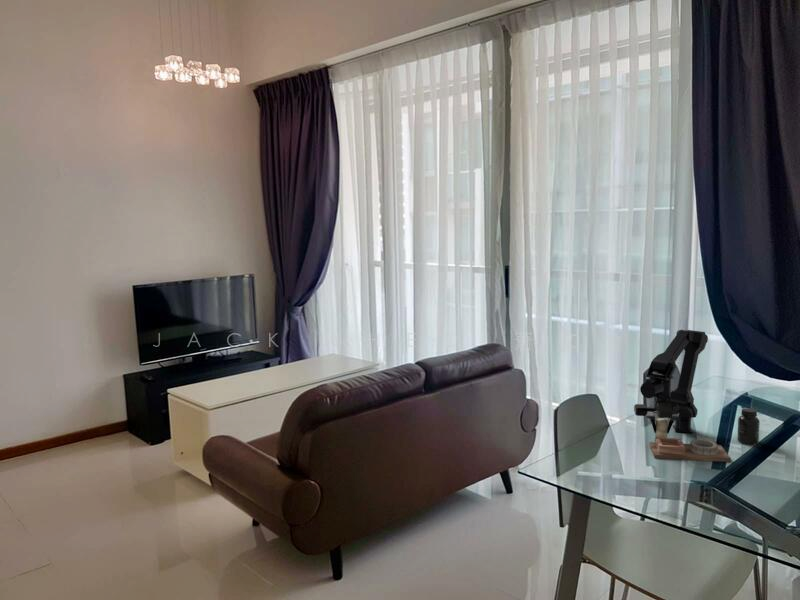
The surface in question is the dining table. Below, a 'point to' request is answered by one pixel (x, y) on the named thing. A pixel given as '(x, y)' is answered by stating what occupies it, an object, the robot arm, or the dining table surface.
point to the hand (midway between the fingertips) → (661, 433)
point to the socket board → (688, 450)
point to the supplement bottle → (748, 427)
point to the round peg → (661, 428)
